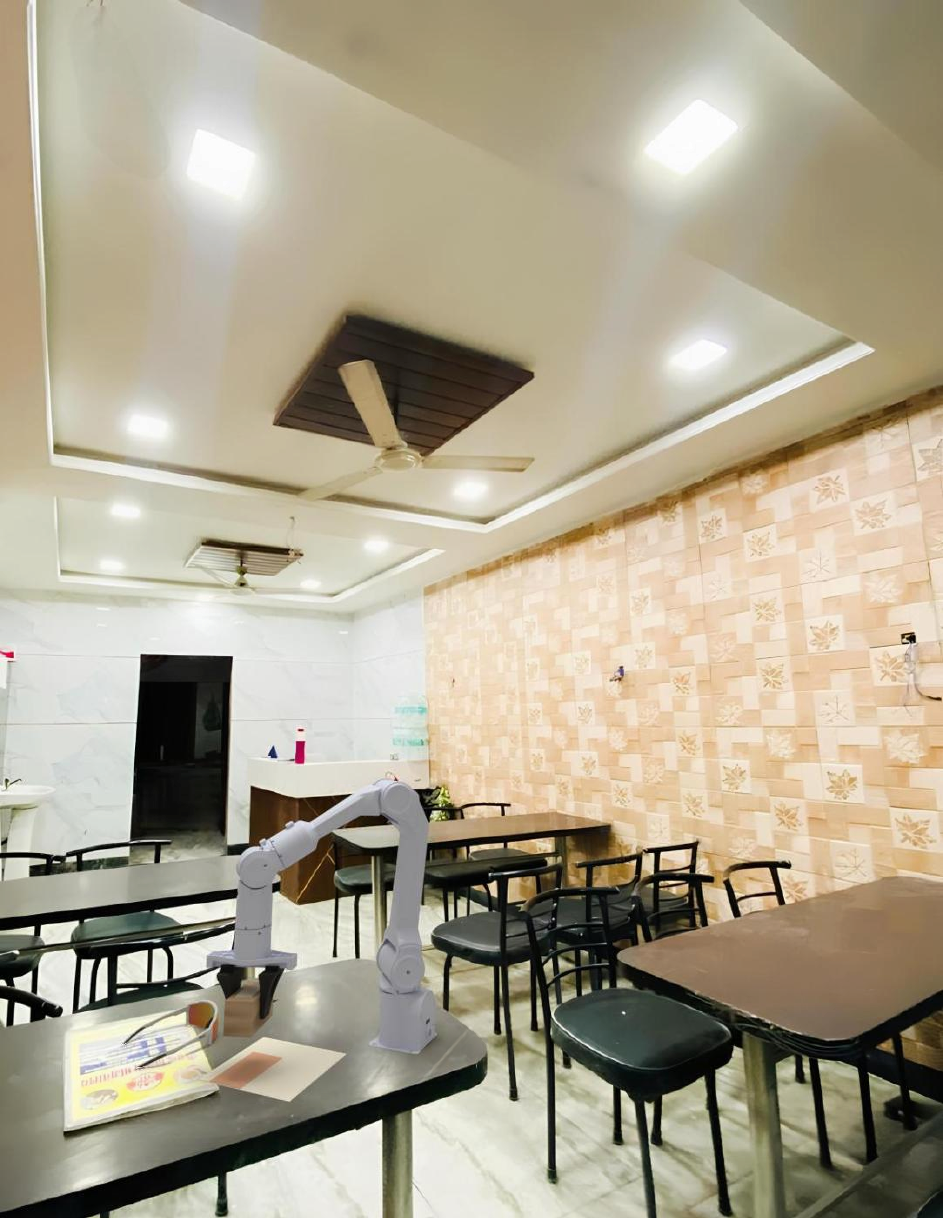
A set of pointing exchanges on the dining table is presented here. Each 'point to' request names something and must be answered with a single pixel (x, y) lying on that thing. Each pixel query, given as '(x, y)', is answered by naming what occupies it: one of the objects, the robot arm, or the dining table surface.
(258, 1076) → the mat
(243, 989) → the card box
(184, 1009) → the sunglasses
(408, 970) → the robot arm
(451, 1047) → the dining table surface
